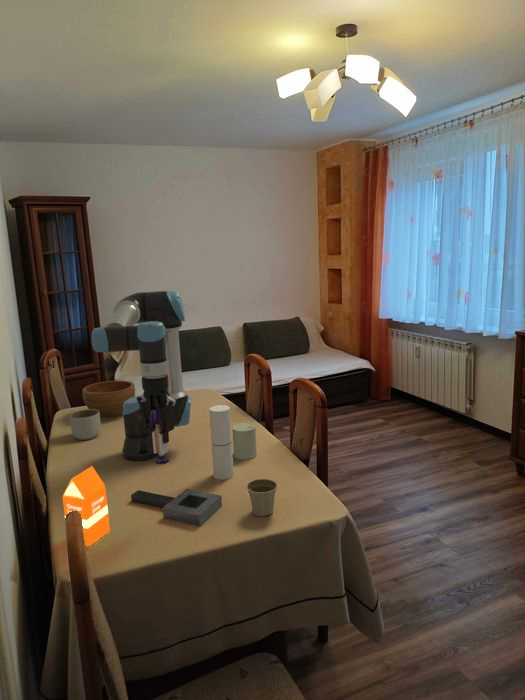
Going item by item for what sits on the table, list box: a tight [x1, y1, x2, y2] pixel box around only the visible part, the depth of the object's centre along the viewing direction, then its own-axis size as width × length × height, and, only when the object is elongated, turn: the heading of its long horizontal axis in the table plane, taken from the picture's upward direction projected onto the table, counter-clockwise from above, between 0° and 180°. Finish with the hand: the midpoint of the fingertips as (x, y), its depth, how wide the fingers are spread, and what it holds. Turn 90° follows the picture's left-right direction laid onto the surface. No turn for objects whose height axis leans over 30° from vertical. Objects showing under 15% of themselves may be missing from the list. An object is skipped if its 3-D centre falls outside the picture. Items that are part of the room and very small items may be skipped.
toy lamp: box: [150, 408, 170, 465], centre depth 149 cm, size 5×5×17 cm
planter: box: [69, 408, 102, 441], centre depth 223 cm, size 12×12×11 cm
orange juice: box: [62, 465, 111, 547], centre depth 141 cm, size 8×9×20 cm
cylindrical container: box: [208, 404, 235, 481], centre depth 177 cm, size 7×7×25 cm
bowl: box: [81, 380, 136, 418], centre depth 251 cm, size 25×25×15 cm
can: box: [231, 422, 258, 461], centre depth 196 cm, size 9×9×12 cm
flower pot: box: [245, 478, 278, 517], centre depth 153 cm, size 9×9×9 cm
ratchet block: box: [130, 488, 223, 527], centre depth 158 cm, size 29×13×4 cm, turn 65°
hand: (161, 452), depth 150 cm, fingers closed on toy lamp, 2 cm apart
